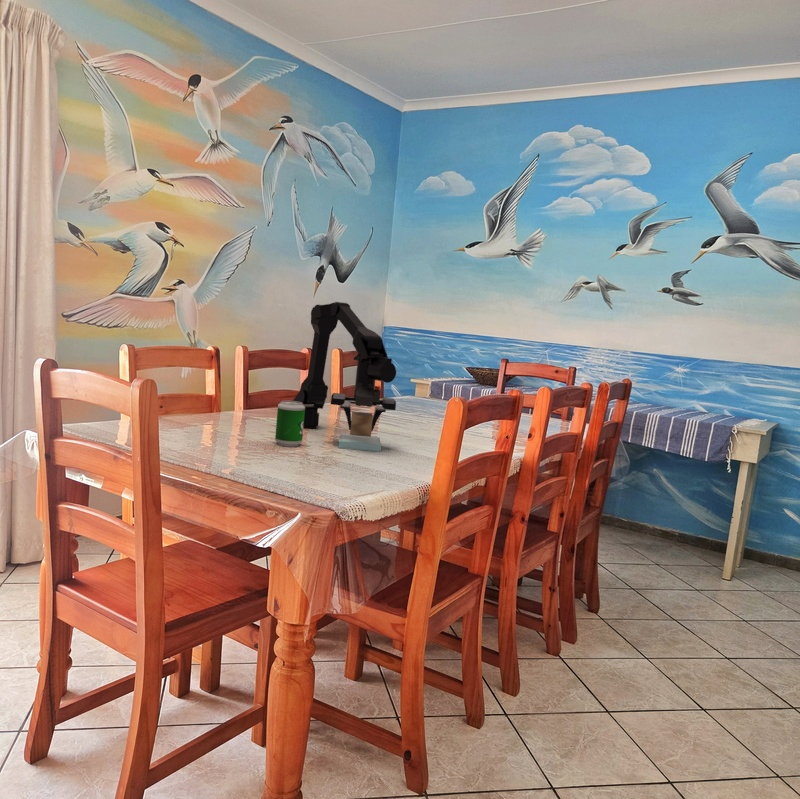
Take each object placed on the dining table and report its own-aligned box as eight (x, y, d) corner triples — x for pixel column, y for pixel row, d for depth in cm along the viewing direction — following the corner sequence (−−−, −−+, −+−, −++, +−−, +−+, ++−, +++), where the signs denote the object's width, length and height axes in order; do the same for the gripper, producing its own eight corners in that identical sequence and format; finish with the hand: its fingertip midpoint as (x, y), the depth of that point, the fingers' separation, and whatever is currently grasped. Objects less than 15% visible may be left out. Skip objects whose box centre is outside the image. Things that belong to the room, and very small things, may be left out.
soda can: (296, 448, 190) (300, 405, 189) (270, 444, 191) (274, 402, 190) (305, 444, 197) (309, 402, 196) (280, 440, 199) (283, 399, 197)
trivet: (338, 448, 197) (338, 440, 196) (339, 440, 208) (339, 433, 208) (380, 451, 197) (381, 444, 197) (378, 443, 209) (379, 436, 209)
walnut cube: (350, 435, 199) (352, 414, 199) (350, 431, 205) (352, 411, 205) (370, 436, 200) (372, 416, 199) (370, 433, 206) (372, 413, 205)
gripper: (332, 377, 192) (327, 432, 194) (399, 383, 193) (393, 438, 195) (333, 373, 203) (329, 426, 205) (397, 379, 204) (391, 431, 206)
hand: (360, 430), depth 202 cm, fingers closed on walnut cube, 6 cm apart
